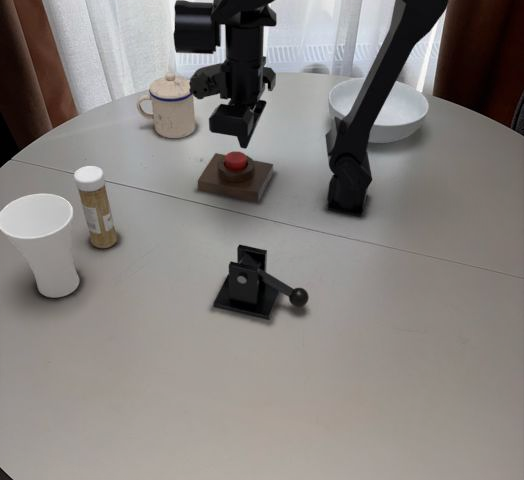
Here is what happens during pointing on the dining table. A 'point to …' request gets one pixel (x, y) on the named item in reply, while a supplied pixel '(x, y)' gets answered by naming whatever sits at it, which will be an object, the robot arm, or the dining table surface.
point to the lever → (278, 283)
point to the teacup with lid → (170, 106)
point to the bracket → (247, 287)
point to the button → (235, 161)
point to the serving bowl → (383, 109)
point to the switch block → (236, 179)
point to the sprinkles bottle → (96, 206)
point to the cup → (43, 240)
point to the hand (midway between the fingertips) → (244, 147)
